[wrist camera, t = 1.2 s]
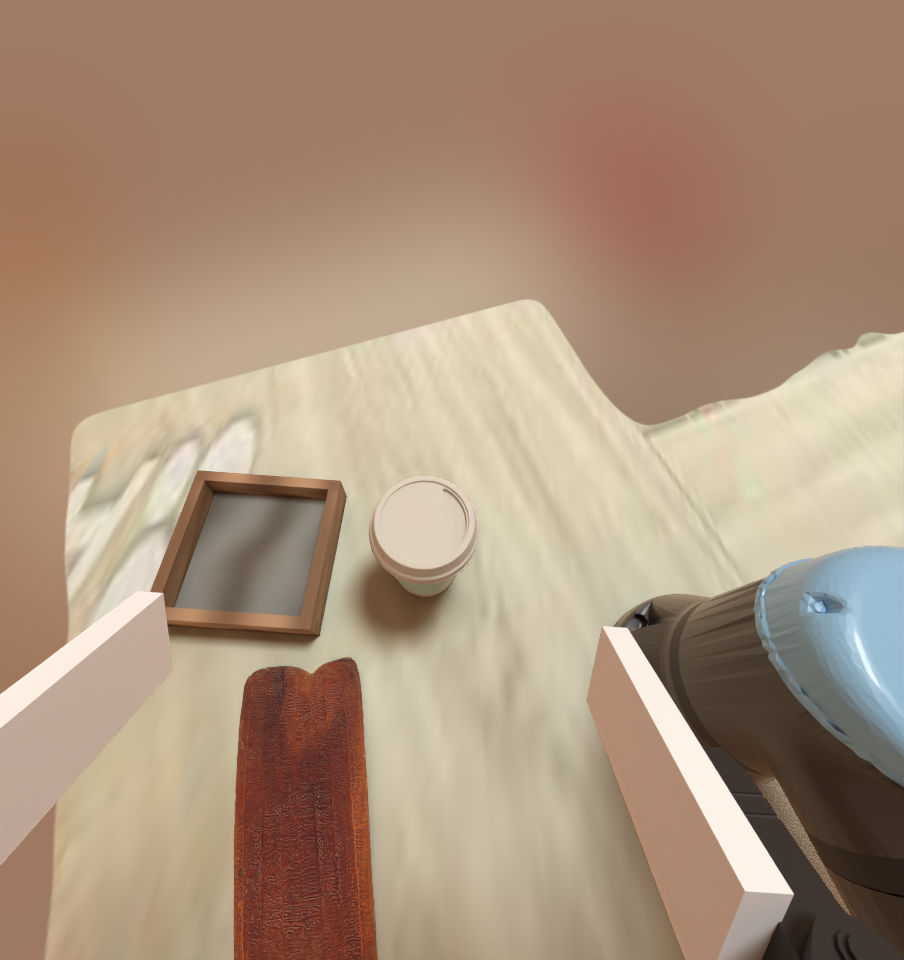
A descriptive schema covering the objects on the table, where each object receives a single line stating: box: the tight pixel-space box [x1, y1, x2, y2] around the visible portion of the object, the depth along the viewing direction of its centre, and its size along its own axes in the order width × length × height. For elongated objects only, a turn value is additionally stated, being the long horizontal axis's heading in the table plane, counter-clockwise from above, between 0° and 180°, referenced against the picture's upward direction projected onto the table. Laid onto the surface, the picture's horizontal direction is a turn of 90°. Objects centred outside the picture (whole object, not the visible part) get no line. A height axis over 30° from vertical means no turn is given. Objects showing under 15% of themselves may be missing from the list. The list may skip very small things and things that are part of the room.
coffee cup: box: [369, 476, 480, 597], centre depth 37 cm, size 8×8×12 cm
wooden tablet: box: [234, 657, 378, 960], centre depth 31 cm, size 27×10×2 cm, turn 10°
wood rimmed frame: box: [150, 471, 347, 636], centre depth 40 cm, size 14×14×4 cm
